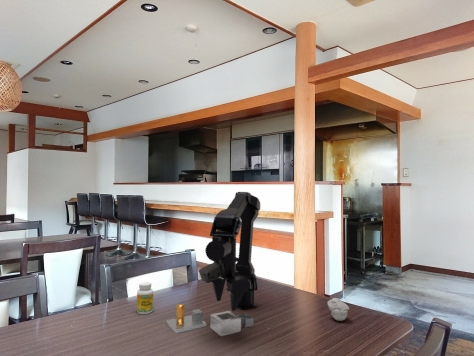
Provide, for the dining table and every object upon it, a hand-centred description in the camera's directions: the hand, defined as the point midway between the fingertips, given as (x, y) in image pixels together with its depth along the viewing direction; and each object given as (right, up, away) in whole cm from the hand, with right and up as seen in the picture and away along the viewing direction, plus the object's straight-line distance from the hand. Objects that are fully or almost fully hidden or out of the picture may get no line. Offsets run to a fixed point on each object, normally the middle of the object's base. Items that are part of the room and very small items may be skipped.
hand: (225, 305), depth 103 cm
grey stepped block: (+5, -7, +3) cm, 9 cm away
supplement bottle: (-28, -7, +13) cm, 32 cm away
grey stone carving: (+37, -8, +8) cm, 39 cm away
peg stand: (-13, -7, +3) cm, 15 cm away
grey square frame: (0, -7, 0) cm, 7 cm away
